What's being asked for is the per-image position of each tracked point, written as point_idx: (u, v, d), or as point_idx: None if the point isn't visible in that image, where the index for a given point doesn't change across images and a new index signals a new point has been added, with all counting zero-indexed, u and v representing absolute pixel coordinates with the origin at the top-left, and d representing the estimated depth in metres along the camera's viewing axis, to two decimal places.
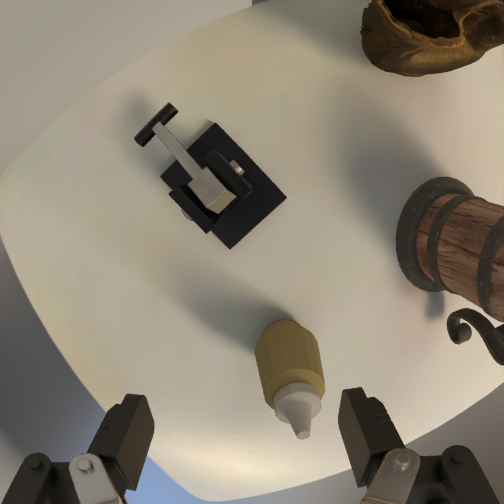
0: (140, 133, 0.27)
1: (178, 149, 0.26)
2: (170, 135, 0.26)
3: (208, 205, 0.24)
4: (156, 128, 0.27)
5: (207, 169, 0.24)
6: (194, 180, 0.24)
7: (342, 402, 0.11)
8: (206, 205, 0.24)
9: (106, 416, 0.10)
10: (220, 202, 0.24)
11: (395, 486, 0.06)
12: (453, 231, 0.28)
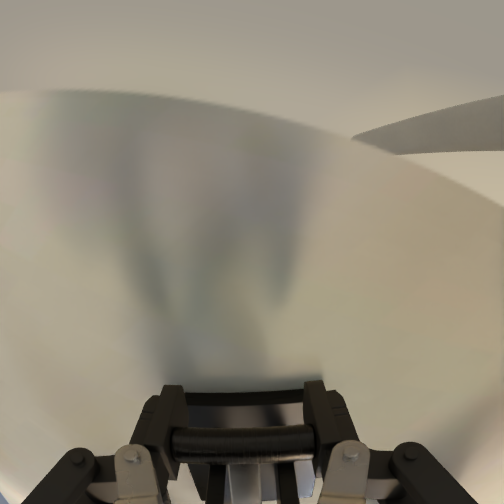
0: (194, 453, 0.09)
1: None
2: None
3: None
4: (240, 473, 0.09)
5: None
6: None
7: (304, 394, 0.11)
8: None
9: (144, 407, 0.10)
10: None
11: (350, 478, 0.06)
12: None
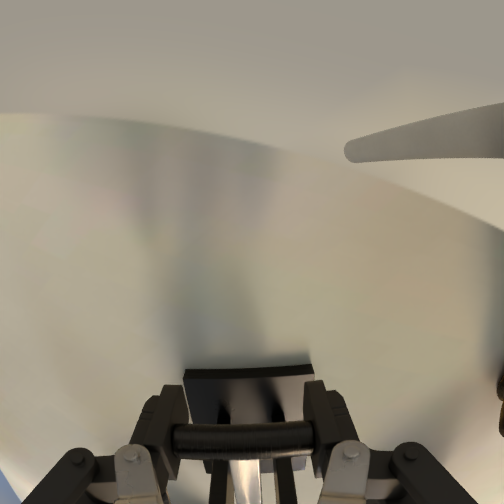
0: (196, 454, 0.09)
1: None
2: (257, 492, 0.10)
3: None
4: (241, 466, 0.09)
5: None
6: None
7: (304, 394, 0.11)
8: None
9: (144, 407, 0.10)
10: None
11: (350, 478, 0.06)
12: None
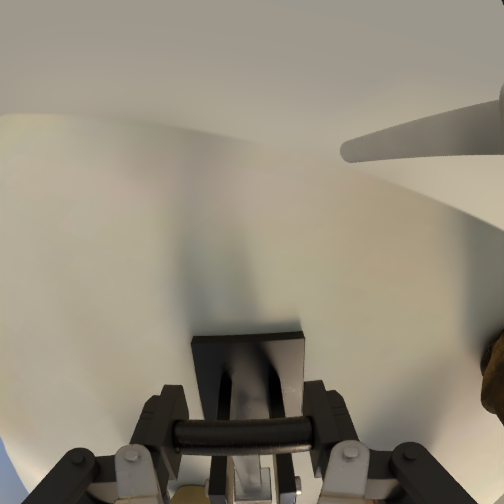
0: (198, 453, 0.09)
1: (252, 478, 0.12)
2: (256, 468, 0.11)
3: None
4: (241, 456, 0.10)
5: (269, 501, 0.14)
6: (246, 501, 0.14)
7: (304, 394, 0.12)
8: None
9: (144, 407, 0.10)
10: None
11: (349, 478, 0.06)
12: None
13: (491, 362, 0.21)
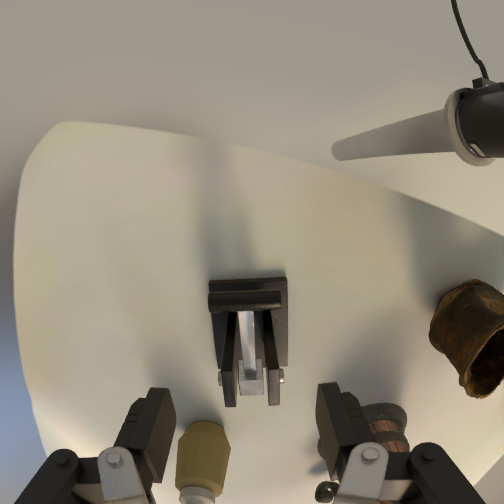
0: (221, 308, 0.21)
1: (250, 348, 0.24)
2: (252, 333, 0.23)
3: None
4: (244, 315, 0.21)
5: (261, 381, 0.25)
6: (246, 381, 0.25)
7: (318, 396, 0.11)
8: (241, 394, 0.27)
9: (130, 410, 0.10)
10: None
11: (366, 480, 0.06)
12: None
13: (437, 310, 0.33)
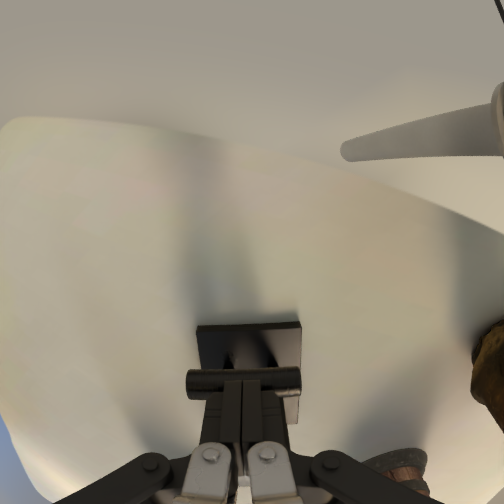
0: (206, 396, 0.12)
1: None
2: None
3: (242, 486, 0.17)
4: None
5: None
6: None
7: None
8: (240, 486, 0.17)
9: (207, 405, 0.11)
10: None
11: (276, 479, 0.07)
12: None
13: (480, 354, 0.23)
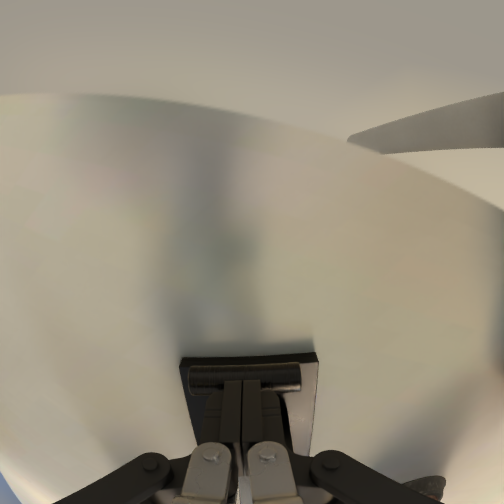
0: (207, 382, 0.12)
1: None
2: None
3: None
4: None
5: None
6: None
7: None
8: None
9: (207, 405, 0.11)
10: None
11: (275, 478, 0.07)
12: None
13: None
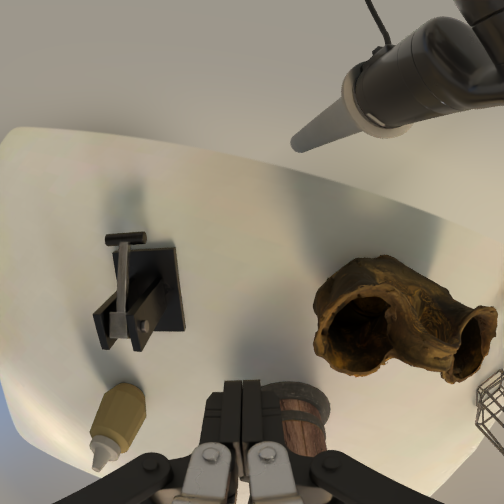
0: (111, 237, 0.33)
1: (122, 278, 0.32)
2: (125, 262, 0.32)
3: (111, 337, 0.30)
4: (122, 245, 0.33)
5: None
6: (114, 314, 0.30)
7: None
8: (110, 336, 0.30)
9: (207, 405, 0.11)
10: None
11: (276, 478, 0.07)
12: None
13: None
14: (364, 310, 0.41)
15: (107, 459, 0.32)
